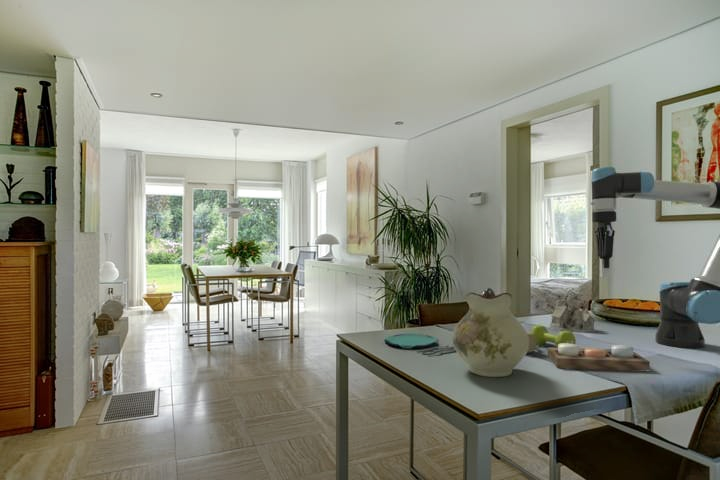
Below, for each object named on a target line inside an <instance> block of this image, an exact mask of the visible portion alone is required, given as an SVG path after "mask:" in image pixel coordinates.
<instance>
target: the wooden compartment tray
mask: <svg viewBox="0 0 720 480" xmlns="http://www.w3.org/2000/svg"><path fill="white" fill-rule="evenodd" d="M546 349H547V353H546V354H547V357H548V359H549V360H550V361H551V362H552V363H553V365H554V366H555V367H556V368H557V369H579V370H602V371H603V370H604V371H625V370H651V369H650V362H651V361H650V360H648V359H646V358H644V357H643V356H641V355H640V354H638V353H636V352H635V351H633V358H618V357H613V356H612V353H611V348H610V349H609V348H608V349H606V348H602V349H603V350H605V351H606V357H589V356H585V348H579V356H560V355H559V354H558V348H557V347H547V348H546Z"/></svg>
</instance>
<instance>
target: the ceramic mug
mask: <svg viewBox="0 0 720 480" xmlns="http://www.w3.org/2000/svg"><path fill="white" fill-rule="evenodd" d="M526 332H527V334H528V337H529V347H528V351H527V353H526V354H531V353H533V352H534V351H539V349H540V345H537V340H536V337H535V336H534V335H533V334H531V333H530V331H529V332H528V331H526Z"/></svg>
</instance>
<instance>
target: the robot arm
mask: <svg viewBox="0 0 720 480" xmlns="http://www.w3.org/2000/svg"><path fill="white" fill-rule="evenodd" d="M590 182H591V199H592V200H591V202H590V205H591V206H592V208H591V209H592V211H593V212H591V213H592V214H591V216H592V220H591V221H592V223H597V227H596V230H595V231H594V234H595V241H596V249H597V250H596V251H597V257H599V260H600V261H599V262H600V263H599V265H600V271H599V272H600V278H611V262H610V261H611V258H613V253H614V242H615V241H614V238H615V234H616V231H615V229H613V227H612V223H614V222H617V212H616V210H617V199H618V198H623V199H624V198H625V199H637V200H639V199H640V200H647V201H648V200H650V201H661V202H673V203H674V202H675V203H684V204H685V203H686V204H694V205H695V204H697V205H701V206H702V207H703V208H709V209H710V208H711V209H717V210H718V209H719V210H720V181H707V182H705V183H698V182H697V183H696V182H687V181H685V182H684V181H671V180H670V181H669V180H657V179H655V178H654V175H653V174H652V173H651V172H650V171H636V172H634V171H632V172H617V171H616V167H613V166H603V167H596V168H594V169H593V170H592V172H591V181H590ZM659 286H660V287H659V311H660V314H659V315H660V322H659V325H658V327H657V330H656V333H655V340H654V341H655V342H656V343H657V344H660V345H661V344H662V345H666V346H670V347H675V348H676V347H678V348H689V349H690V348H691V349H692V348H693V349H698V348H703V347H705V346H706V342H705V341H706V340H705V337H704V335H703V332H702V329H701V327H700V325H699V324H706V325H715V324H719V323H720V234H719V235H718V236H717V239H716V241H715V242H714V245H713V247H712V249H711V250H710V253H709V255H708V257H707V259H706V262H705V263H704V265H703V267H702V270H701V271H700V273H699V275H697V276H696V277H692V278H691V279H690V281H688V282H687V281H685V282H684V281H681V282H680V281H679V282H662V283H661V284H660V285H659Z"/></svg>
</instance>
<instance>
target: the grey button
mask: <svg viewBox="0 0 720 480" xmlns="http://www.w3.org/2000/svg"><path fill="white" fill-rule="evenodd" d="M610 349H611V353H612V356H613V357H618V358H633V352H634V347H633V346H631V345H630V346H629V345H625V344H613V345H611V347H610Z"/></svg>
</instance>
